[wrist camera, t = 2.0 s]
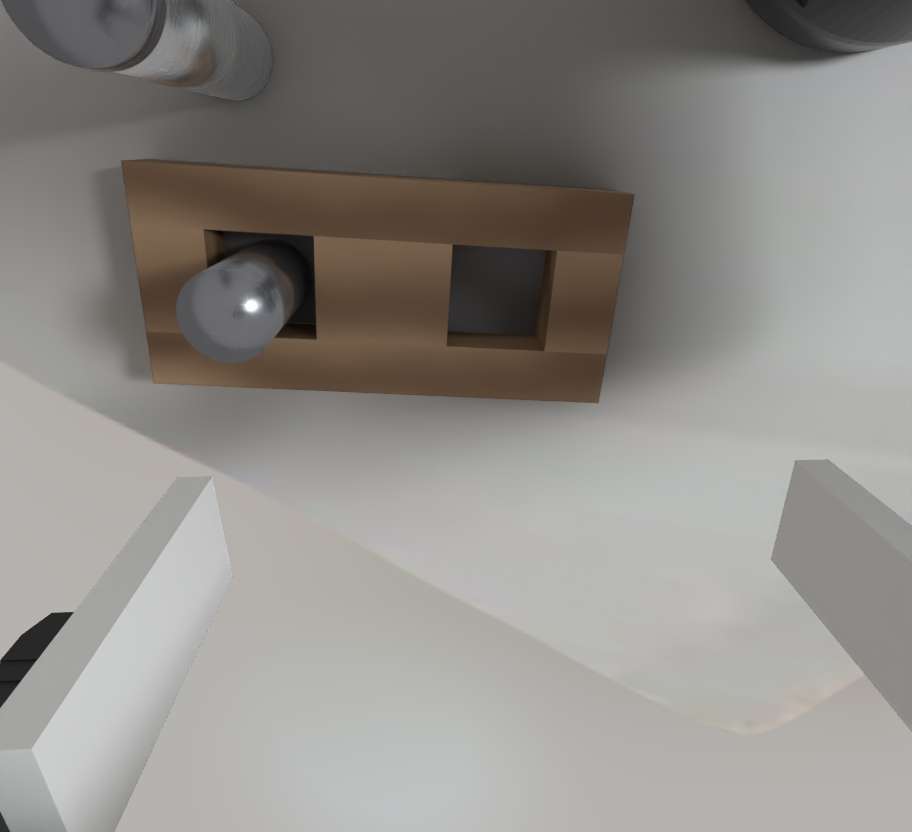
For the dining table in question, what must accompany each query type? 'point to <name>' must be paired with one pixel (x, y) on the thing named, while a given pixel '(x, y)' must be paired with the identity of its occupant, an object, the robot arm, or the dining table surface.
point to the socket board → (391, 278)
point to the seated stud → (243, 300)
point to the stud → (154, 41)
